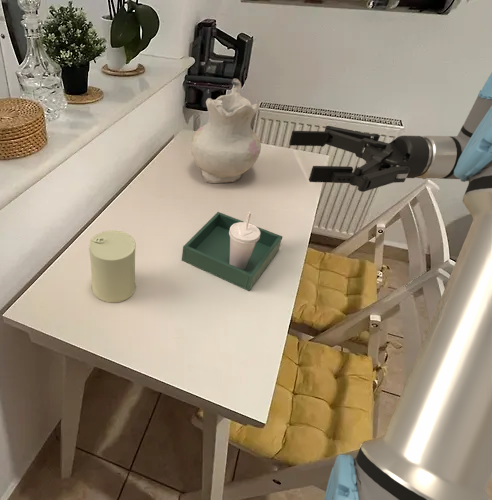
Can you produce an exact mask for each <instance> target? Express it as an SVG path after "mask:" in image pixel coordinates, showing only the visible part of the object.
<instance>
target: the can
mask: <svg viewBox="0 0 492 500" xmlns="http://www.w3.org/2000/svg"><path fill="white" fill-rule="evenodd" d="M136 247H137V244H136V240H135V239H134V237H133V236H131V235H130V234H128V233H127V232H125V231H120V230H105V231H102V232H99V233H97V234H96V235H94V236H93V237H92V238H91V239H90V240H89V243H88V250H89V251H88V252H89V257H90V258H89V260H90V270H91V291H92V293H93V295H94V296H95V297H96V298H97V299H98V300H100V301H103V302H106V303H120V302H124V301H126V300H128V299H129V298H131V297H132V296H133V295H134V294H135V291H136V288H137V285H136Z"/></svg>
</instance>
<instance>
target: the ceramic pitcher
mask: <svg viewBox="0 0 492 500" xmlns="http://www.w3.org/2000/svg"><path fill="white" fill-rule="evenodd" d="M231 84H232V88H231V92H230V93H229V94H224V95H220V96H218V97H217V98H216V99H213V98H211V97H208V98H207V99H206V101H205V104H206V108H207V112H208V121H207V123H206V124H204V125H202V126H200V127H199V128H198V129H197V130H196V131H195V132H194V133H193V135H192V138H191V142H190V143H191V145H190V152H191V156H192V158H193V161H194V163H195V164H196V166H197V167H198V168H199V169H200V170H201V171H200V172H201V177H202V180H204V181H205V182H206V183H209V184H221V183H222V184H223V183H235V182H237V181H239V180H240V179H241V178H242V177H243V175H242V174H244V173H246V172H248V171H249V170H250V169H251V168H252V167H253V166H254V165H255V163H256V162H257V161H258V158H259V157H260V154H261V150H262V143H261V140H260V138H259V136H258V134H257V133H256V132H255V131H254V130H253V129H252V126H251V125H252V124H251V123H252V120H253V118H254V116H255V115H256V114H257V113H258V110H260V104H259V103H254V104H252V103H251V101H250V100H249V99H248V98H245V97H244V96H242V94H241V91H242V83H241V81H240V80H239V78H237V77H236V78H233V79H232V81H231Z"/></svg>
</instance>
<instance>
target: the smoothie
mask: <svg viewBox="0 0 492 500" xmlns="http://www.w3.org/2000/svg"><path fill="white" fill-rule="evenodd" d="M251 215H252V212H251V211H248V212H247V216H246V221H243V222H238V223H235V224H233V225H232V226H231V227H230V230H229V235H230V262H229V264H230V265H232V266H235V267H237V268H239V269H241V270H244V269H245V268H246V266H247V264H248V261H249V259H250V257H251V254H252V252H253V249H254V247H255V244H256V242H257V241H258V240H259V238H260V230H259V229H258V228H257V227H258V226H256V225H255V224H253V223H250V221H251Z"/></svg>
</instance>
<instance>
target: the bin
mask: <svg viewBox="0 0 492 500" xmlns="http://www.w3.org/2000/svg"><path fill="white" fill-rule="evenodd" d="M238 222H244V220H240V219H239V218H236V217H233V216H230V215H228V214H226V213H222V212H220V211H217V212H215V214H214V215H213V216H212V217H211V218H210V219H209V220H208V221H207V222H206V223H205V224H204V225H202V227H201V228H200V229H199V230H198V231H197V232H196V233H195V234H194V235H193V236H192V237H191V238H190V239H189V240H187V242H186V243H185V244H184V245H183V246H182V253H181V261H182V262H185V263H186V264H189V265H191V266H194V267H196V268H198V269H200V270H201V271H204V272H206V273H209V274H211V275H212V276H215V277H218V278H220V279H222V280H223V281H226V282H228V283H231V284H233V285H235V286H237V287H239V288H241V289H244V290H245V291H248V292H250V290H251V289H252V288H253V287H254V285H255V284H256V282H258V280H259V278H260V277H261V276H262V274H263V273H264V272H265V270H266V269H267V267H268V266H269V264H270V263H271V262H272V260H273V259H274V257H276V255H277V254H278V252H279V250H280V247H281V244H282V240H283V236H282V235H279V234H278V233H275V232H272V231H269V230H267V229H264V228H262V227H260V226H256V227H257V228H258V229H259V230H260V238H259V240H258V241H257V242H256V244H255V247H254V249H253V252H252V254H251V257H250V259H249V261H248V264H247V266H246V268H245V269H244V270H241V269H239V268H237V267H235V266H232V265H230V264H229V262H230V235H229V230H230V227H231V226H232V225H233V224H235V223H238Z"/></svg>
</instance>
